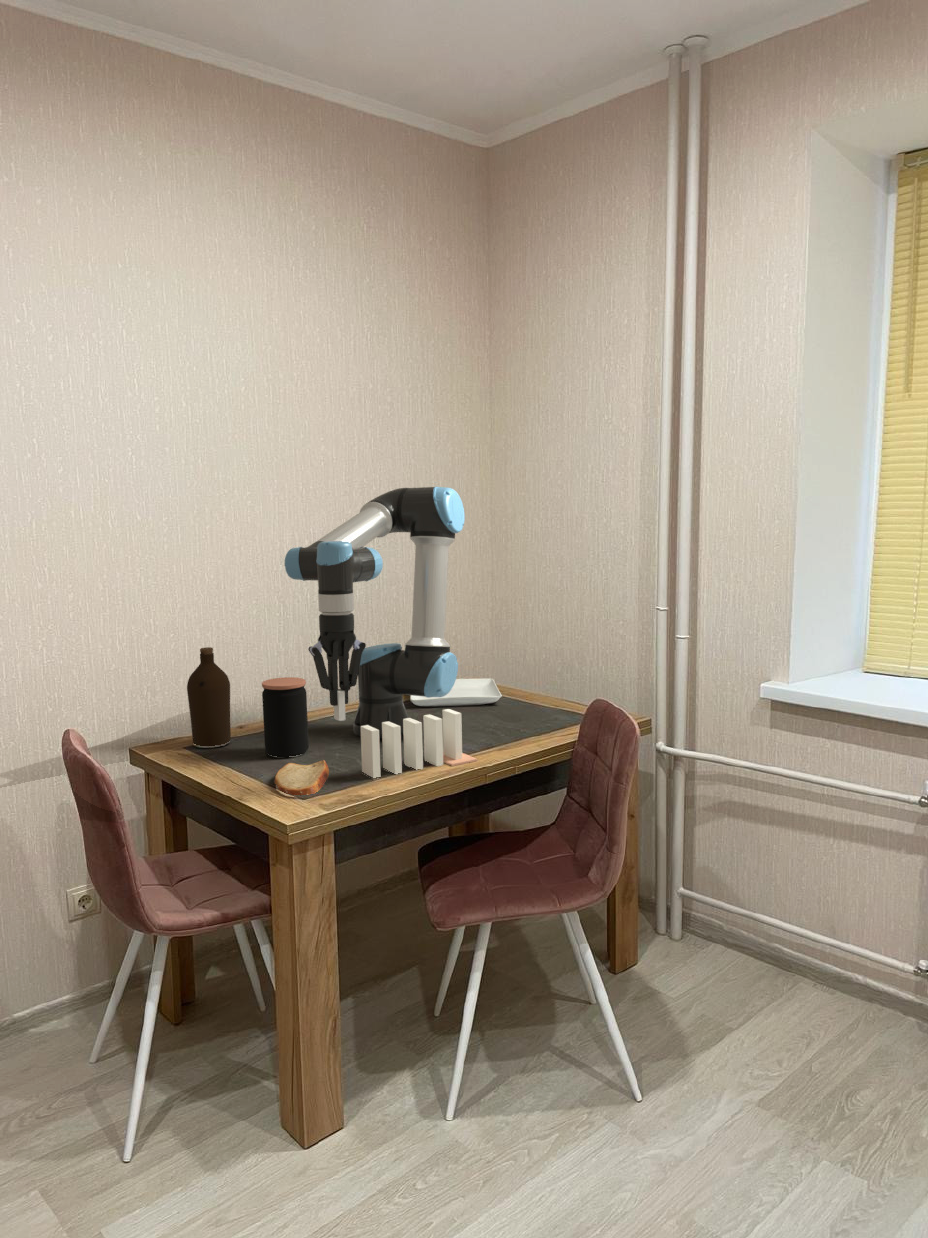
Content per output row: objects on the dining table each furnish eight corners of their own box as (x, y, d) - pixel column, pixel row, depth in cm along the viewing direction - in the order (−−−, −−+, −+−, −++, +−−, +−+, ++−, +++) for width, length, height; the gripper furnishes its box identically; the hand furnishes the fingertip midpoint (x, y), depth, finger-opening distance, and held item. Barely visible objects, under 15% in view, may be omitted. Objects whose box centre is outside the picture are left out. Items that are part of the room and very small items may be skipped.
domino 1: (373, 779, 210) (371, 731, 208) (362, 773, 215) (360, 726, 213) (380, 777, 211) (379, 730, 209) (369, 771, 216) (367, 725, 214)
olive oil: (237, 746, 240) (232, 649, 236) (195, 752, 235) (189, 653, 231) (227, 736, 249) (222, 643, 245) (186, 742, 244) (180, 647, 241)
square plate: (493, 688, 304) (493, 676, 303) (502, 708, 277) (502, 695, 276) (409, 691, 302) (408, 679, 301) (410, 711, 275) (410, 698, 274)
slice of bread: (302, 803, 196) (302, 785, 196) (247, 787, 207) (247, 770, 207) (363, 781, 210) (363, 765, 209) (309, 767, 221) (308, 751, 221)
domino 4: (436, 766, 219) (435, 720, 217) (424, 760, 223) (423, 715, 222) (443, 765, 220) (442, 719, 218) (431, 759, 224) (429, 714, 223)
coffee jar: (317, 750, 234) (314, 679, 232) (289, 761, 225) (285, 687, 223) (285, 745, 239) (281, 675, 237) (255, 755, 230) (252, 683, 228)
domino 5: (455, 760, 222) (454, 714, 220) (443, 754, 226) (442, 709, 225) (462, 758, 223) (461, 713, 221) (449, 753, 227) (448, 708, 226)
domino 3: (416, 770, 216) (415, 723, 214) (404, 764, 220) (403, 719, 219) (423, 769, 217) (421, 722, 215) (411, 763, 221) (409, 717, 220)
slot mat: (452, 766, 218) (452, 764, 218) (430, 756, 227) (430, 754, 227) (477, 761, 222) (477, 759, 222) (454, 751, 230) (454, 749, 230)
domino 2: (395, 774, 213) (393, 727, 211) (383, 768, 218) (381, 722, 216) (401, 773, 214) (400, 726, 212) (390, 767, 218) (388, 721, 217)
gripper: (355, 608, 210) (358, 712, 213) (301, 613, 203) (305, 720, 206) (371, 612, 204) (374, 718, 207) (315, 616, 197) (319, 727, 200)
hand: (339, 719), depth 207 cm, fingers closed
